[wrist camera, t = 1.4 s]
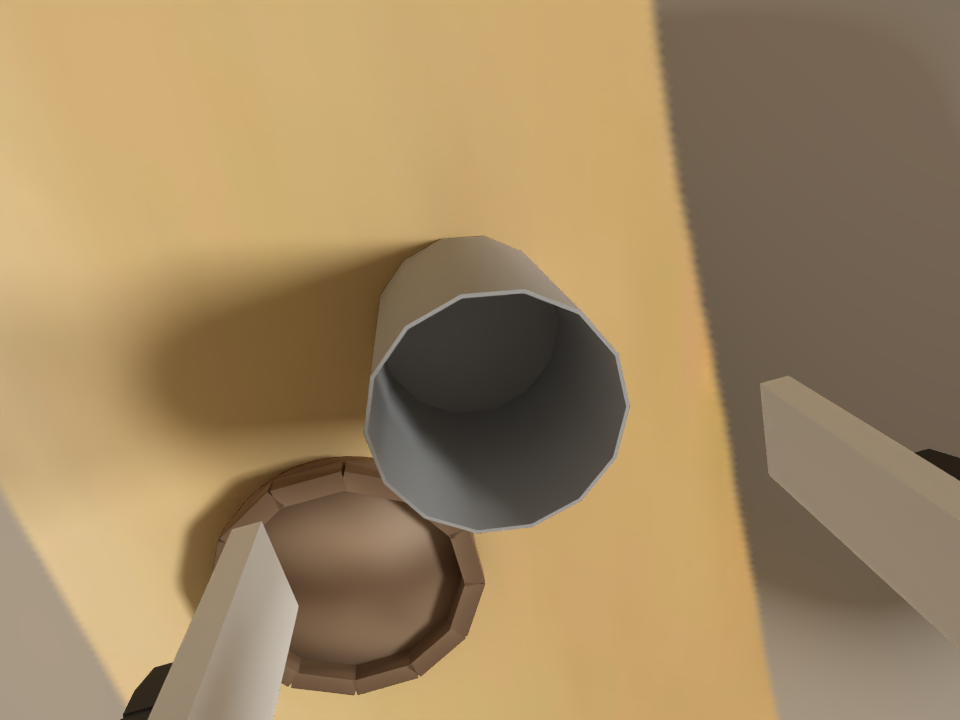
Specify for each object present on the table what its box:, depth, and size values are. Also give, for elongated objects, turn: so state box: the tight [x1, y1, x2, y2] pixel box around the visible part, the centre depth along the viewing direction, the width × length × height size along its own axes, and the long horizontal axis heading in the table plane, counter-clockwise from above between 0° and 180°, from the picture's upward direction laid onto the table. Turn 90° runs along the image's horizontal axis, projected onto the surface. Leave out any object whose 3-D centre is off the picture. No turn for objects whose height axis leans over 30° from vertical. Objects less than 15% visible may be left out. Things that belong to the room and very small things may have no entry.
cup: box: [364, 236, 630, 533], centre depth 25 cm, size 8×8×10 cm
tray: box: [212, 457, 485, 695], centre depth 32 cm, size 13×13×2 cm
